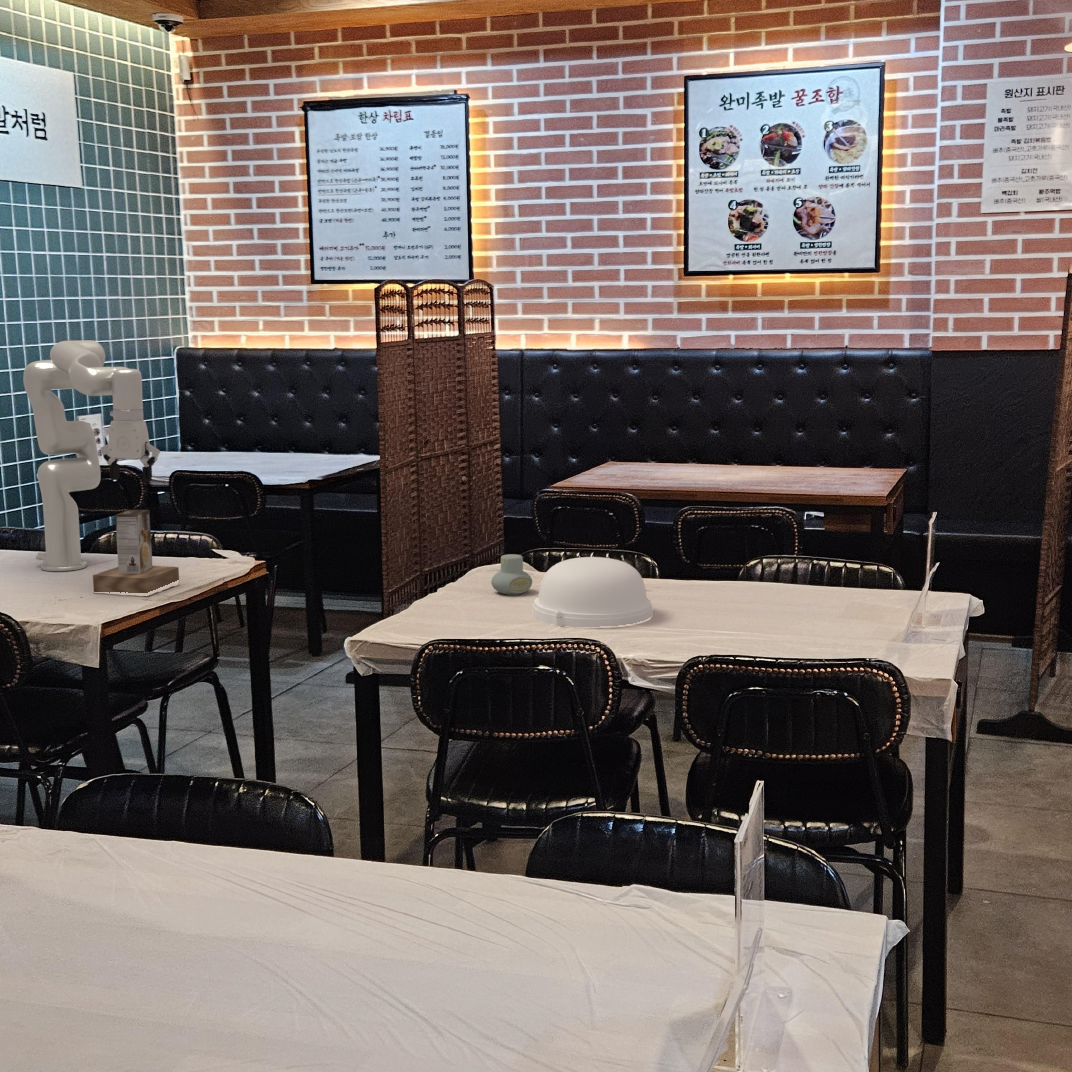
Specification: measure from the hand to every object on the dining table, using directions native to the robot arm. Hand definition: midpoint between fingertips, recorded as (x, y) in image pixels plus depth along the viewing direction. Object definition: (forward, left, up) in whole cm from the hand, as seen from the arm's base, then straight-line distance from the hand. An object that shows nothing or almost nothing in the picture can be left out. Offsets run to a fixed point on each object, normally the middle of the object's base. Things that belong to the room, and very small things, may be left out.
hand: (131, 480), depth 351 cm
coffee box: (0, 0, -25) cm, 25 cm away
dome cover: (+125, +6, -30) cm, 129 cm away
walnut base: (0, 0, -30) cm, 30 cm away
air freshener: (+98, +25, -30) cm, 106 cm away
